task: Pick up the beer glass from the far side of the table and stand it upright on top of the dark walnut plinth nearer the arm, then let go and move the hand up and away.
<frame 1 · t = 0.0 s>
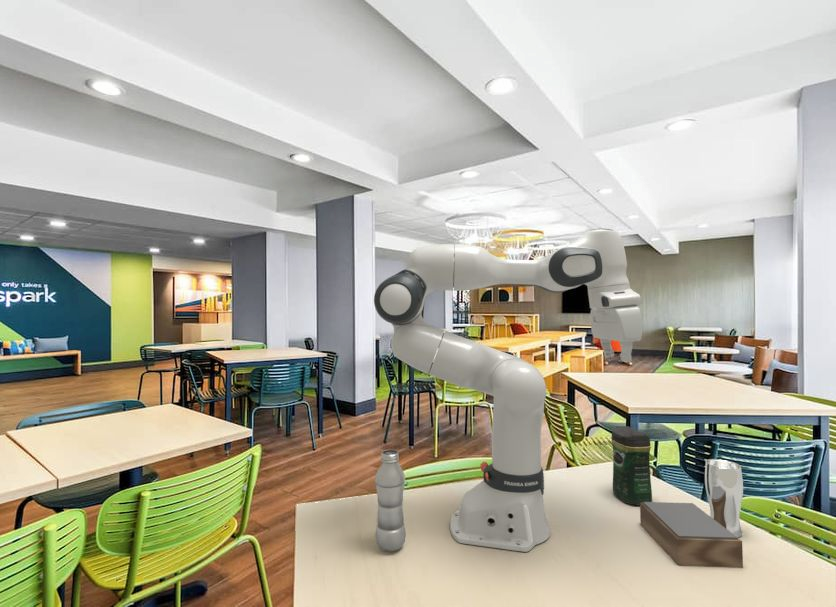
hand: (617, 359, 95), 39 cm above the table, tool pointing down, fingers open, 8 cm apart
coffee jar: (632, 499, 111), on the table
walnut plinth: (686, 543, 89), on the table
beer glass: (725, 531, 94), on the table
plastic bottle: (390, 548, 88), on the table
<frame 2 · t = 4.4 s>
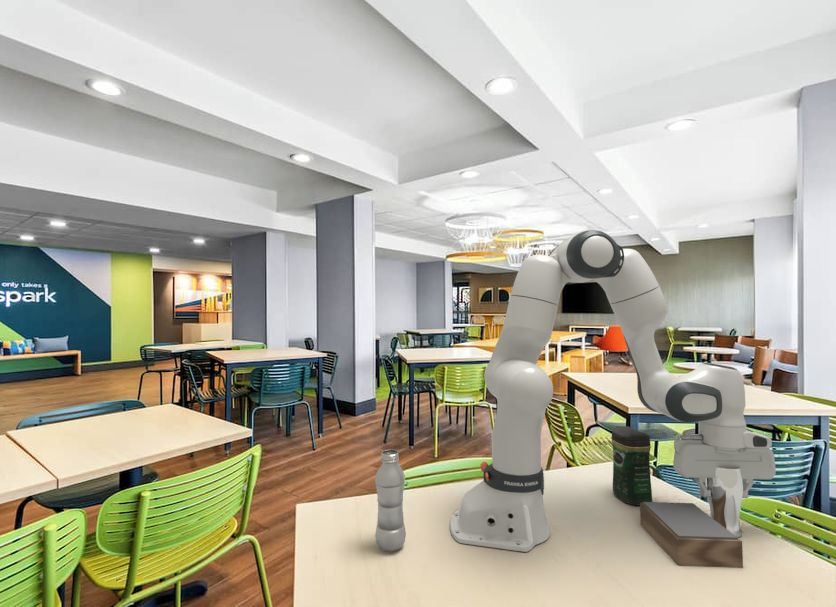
hand: (723, 496, 94), 8 cm above the table, tool pointing down, fingers closed on beer glass, 6 cm apart
beer glass: (725, 531, 94), on the table, touching gripper
everything else where it was.
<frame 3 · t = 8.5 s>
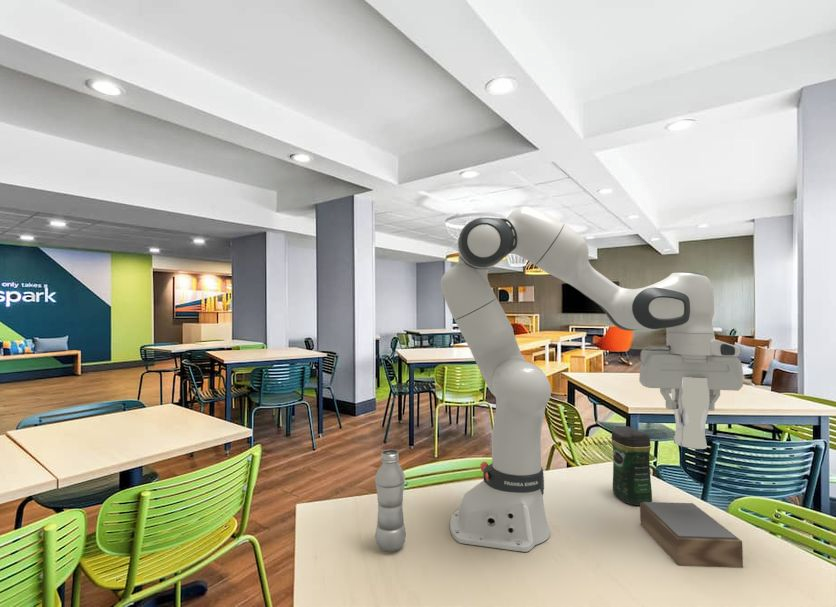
hand: (689, 409, 91), 28 cm above the table, tool pointing down, fingers closed on beer glass, 6 cm apart
beer glass: (689, 445, 91), point 20 cm above the table, touching gripper
everything else where it was.
when the fingers open (15 cm above the table, at t = 12.6 s): beer glass drops 1 cm, resting on walnut plinth.
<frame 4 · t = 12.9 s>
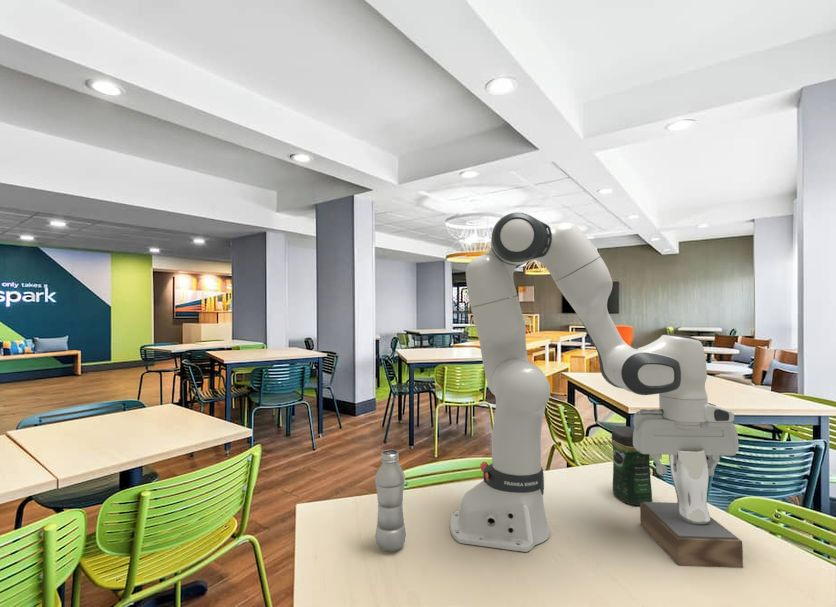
hand: (684, 474, 89), 15 cm above the table, tool pointing down, fingers open, 8 cm apart
beer glass: (693, 518, 89), point 5 cm above the table, touching gripper, walnut plinth
everything else where it was.
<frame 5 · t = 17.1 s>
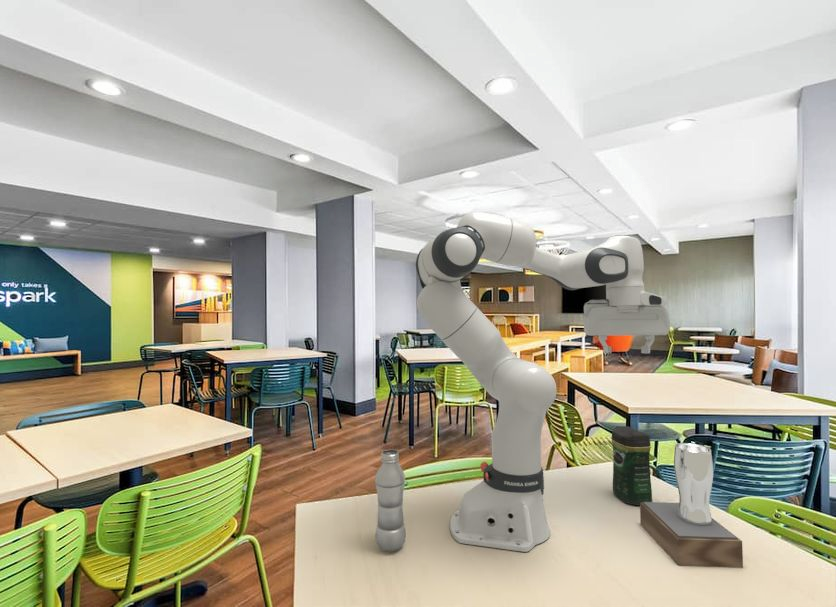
hand: (626, 353, 106), 39 cm above the table, tool pointing down, fingers open, 8 cm apart
beer glass: (694, 519, 89), point 5 cm above the table, touching walnut plinth
everything else where it was.
at the end: beer glass inside the target area on the walnut plinth (1.7 cm from its centre), point 5.2 cm above the walnut plinth's base; beer glass tilted 0°; the gripper is holding nothing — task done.
